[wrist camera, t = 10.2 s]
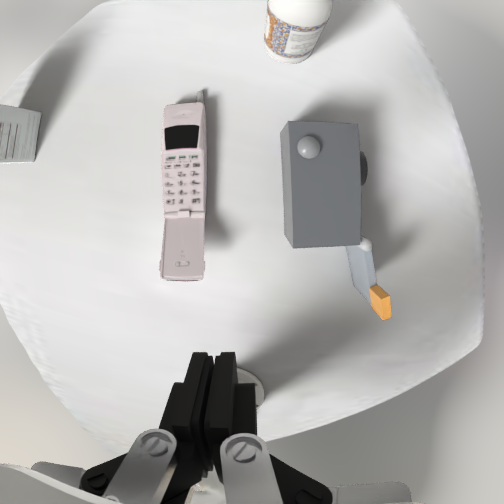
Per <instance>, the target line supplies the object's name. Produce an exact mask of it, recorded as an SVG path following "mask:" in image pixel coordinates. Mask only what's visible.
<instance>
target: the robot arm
mask: <svg viewBox="0 0 504 504" xmlns="http://www.w3.org/2000/svg"><path fill="white" fill-rule="evenodd" d="M263 400H264V388H263V385H262V384H261V382H260V380H259V379H258V378H257V377H256V376H254V375H253V374H251V373H249V372H247V371H245V370H242V369H239V368H237V365H236V356H235V352H221V355H220V356H216V358H215V363H214V362H213V357H212V356H208V354H207V352H193V354H192V357H191V360H190V364H189V367H188V370H187V373H186V377H185V380H184V383H179V382H175V383H174V385H173V387H172V390H171V393H170V396H169V399H168V402H167V405H166V408H165V411H164V414H163V417H162V420H161V423H160V426H159V429H150V430H147V431H144V432H143V433H141V434H140V435H139V436H138V437H137V438H136V440H135V442H134V443H133V445H132V447H131V448H130V450H129V452H128V453H126V454H124V455H121V456H119V457H117V458H114V459H112V460H110V461H107V462H105V463H103V464H100V465H97V466H95V467H92V468H90V469H88V470H87V471H86V470H84V469H83V468H78V467H71V466H65V465H59V464H54V463H48V462H38V463H35V464H34V465H33V466H32V468H31V469H29V468H26V467H22V466H18V465H13V464H0V504H425V503H415V502H412V500H411V492H410V489H409V487H408V486H407V485H405V484H404V483H401V482H384V483H373V484H357V485H339V487H326V486H325V485H323V484H321V483H319V482H318V481H316V480H314V479H312V478H310V477H308V476H306V475H304V474H303V473H301V472H299V471H297V470H296V469H294V468H292V467H290V466H289V465H287V464H285V463H284V462H282V461H280V460H279V459H277V458H276V457H274V456H272V455H271V454H269V452H268V449H267V445H266V443H265V441H264V440H262V439H261V438H260V437H258V436H257V412H256V410H257V409H258V408H259V407H260V406H261V405H262V403H263ZM195 484H197V485H198V487H199V488H200V489H201V490H202V491H195Z"/></svg>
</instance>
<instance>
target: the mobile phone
mask: <svg viewBox="0 0 504 504" xmlns="http://www.w3.org/2000/svg"><path fill="white" fill-rule="evenodd" d="M162 186H163V202H164V212H165V213H164V218H165V224H164V234H163V245H162V256H161V261H160V269H159V270H160V271H161V275H160V277H161V279H163V280H170V281H198V280H202V279H203V275H204V271H205V261H204V220H205V215H206V190H207V141H206V115H205V105H204V98H203V91H198V92H197V100H196V102H194V103H182V104H172V105H167V106H166V107H165V108H164V115H163V127H162Z"/></svg>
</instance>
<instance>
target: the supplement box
mask: <svg viewBox="0 0 504 504" xmlns="http://www.w3.org/2000/svg"><path fill="white" fill-rule="evenodd" d="M41 114H42V113H41V112H37V111H33V110H28V109H23V108H18V107H12V106H7V105H1V104H0V164H14V163H29V162H34V159H35V151H36V143H37V136H38V130H39V124H40V119H41Z"/></svg>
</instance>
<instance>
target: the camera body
mask: <svg viewBox="0 0 504 504" xmlns="http://www.w3.org/2000/svg"><path fill="white" fill-rule="evenodd" d="M280 136H281V155H282V176H283V201H284V233H285V236H286V238H287V239H288V241H289V243H290V244H291V246H292V248H312V247H333V246H354V245H360V234H361V185H363V184H364V183H365V181H366V178H367V161H366V157H365V155H364V153H363V152H361V151H360V150H359V134H358V124H350V123H335V122H310V121H288V122H287V124H286V125H285V127H284V128H283V130H282V131H281V133H280Z"/></svg>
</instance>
